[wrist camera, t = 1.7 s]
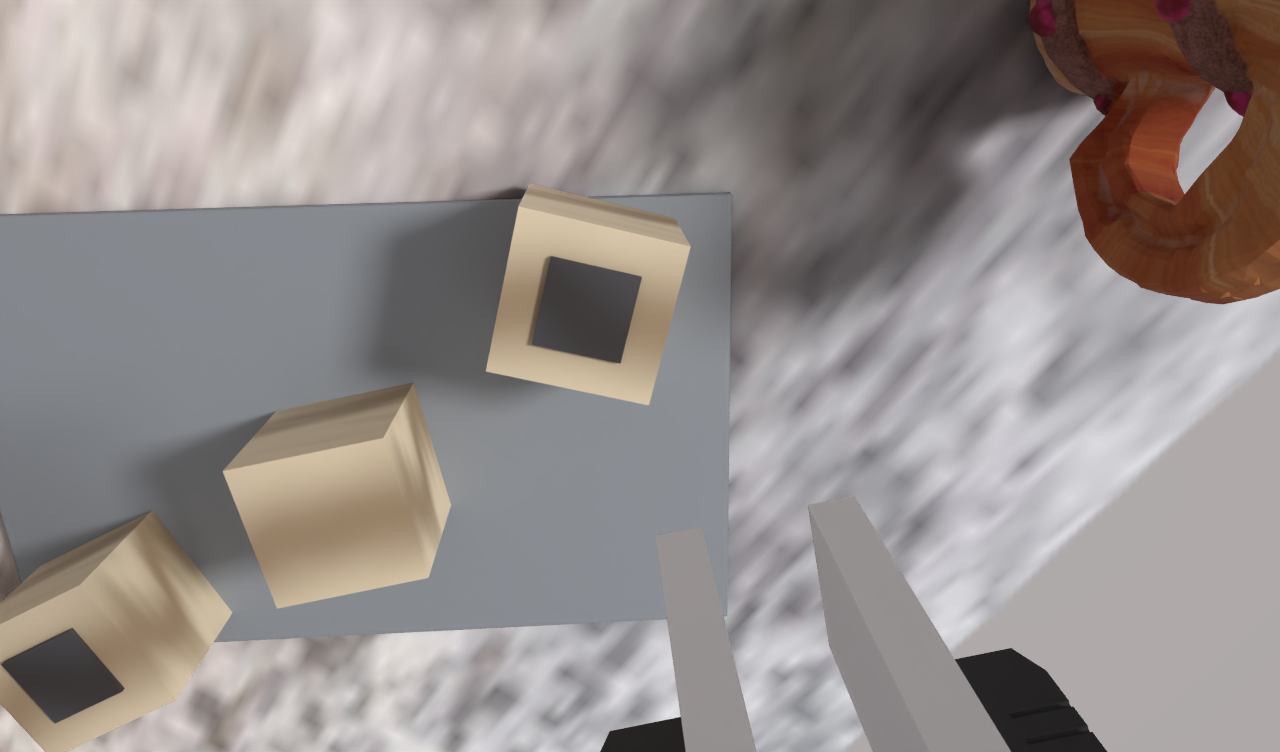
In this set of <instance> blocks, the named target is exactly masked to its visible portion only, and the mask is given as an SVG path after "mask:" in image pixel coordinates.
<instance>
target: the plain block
mask: <svg viewBox="0 0 1280 752" xmlns="http://www.w3.org/2000/svg"><path fill="white" fill-rule="evenodd" d="M223 474H224V476H225V479H226V481H227V484H228V486H229V489H230V491H231V494H232V496H233V499H234V501H235V504H236V506H237V509H238V512H239V514H240V517H241V519H242V522H243V524H244V527H245V529H246V532H247V534H248V537H249V539H250V542H251V544H252V547H253V549H254V552H255V554H256V557H257V559H258V562H259V564H260V567H261V570H262V572H263V575H264V577H265V580H266V582H267V585H268V587H269V590H270V592H271V595H272V597H273V600H274V602H275V605H276V607H277V609H278V608H283V607H288V606H293V605H298V604H303V603H308V602H313V601H318V600H323V599H327V598H332V597H337V596H342V595H347V594H352V593H357V592H362V591H367V590H372V589H377V588H381V587H386V586H391V585H396V584H401V583H406V582H411V581H416V580H421V579H426V578H429V575H430V572H431V568H432V565H433V562H434V559H435V555H436V552H437V549H438V546H439V543H440V539H441V536H442V533H443V530H444V527H445V523H446V520H447V517H448V514H449V511H450V507H451V503H450V500H449V497H448V493H447V490H446V487H445V484H444V480H443V477H442V474H441V470H440V467H439V464H438V461H437V457H436V454H435V451H434V447H433V444H432V441H431V438H430V434H429V431H428V428H427V424H426V421H425V418H424V415H423V411H422V408H421V405H420V401H419V398H418V395H417V392H416V388H415V385H414V382H413V383H408V384H403V385H399V386H394V387H389V388H384V389H379V390H374V391H370V392H365V393H360V394H355V395H350V396H345V397H341V398H336V399H331V400H326V401H321V402H316V403H312V404H307V405H302V406H297V407H292V408H287V409H283V410H278V411H276V412H275V413H274V414H273V415H272V417H271V418H270V419H269V420H268V421H267V422H266V423H265V424H264V425H263V427H262V428H261V429H260V430H259V431H258V432H257V433H256V434H255V436H254V437H253V438H252V439H251V440H250V441H249V442H248V443H247V444H246V446H245V447H244V448H243V449H242V450H241V451H240V452H239V453H238V454H237V456H236V457H235V458H234V459H233V460H232V461H231V462H230V463H229V465H228V466H227V467H226V468H225V469H224V470H223Z"/></svg>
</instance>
